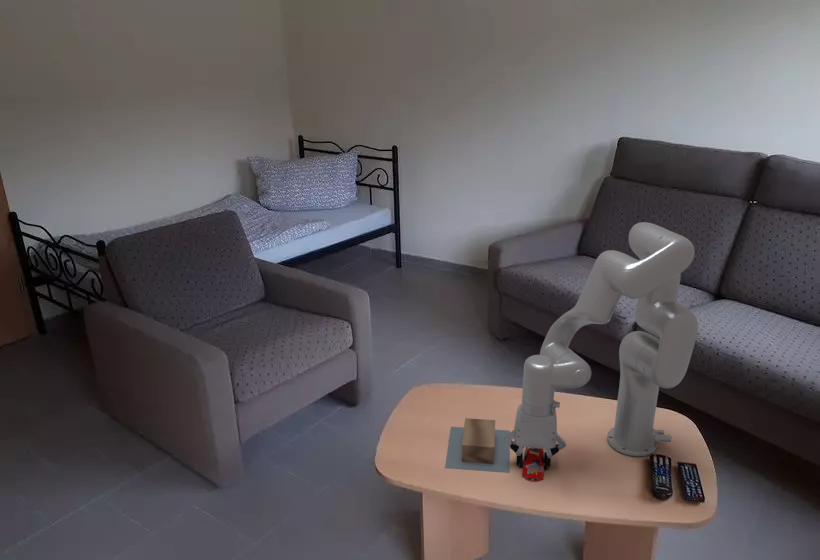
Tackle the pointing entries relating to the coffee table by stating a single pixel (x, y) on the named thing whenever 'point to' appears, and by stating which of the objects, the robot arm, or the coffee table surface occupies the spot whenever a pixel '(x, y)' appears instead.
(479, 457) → the walnut block
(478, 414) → the coffee table surface
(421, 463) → the coffee table surface
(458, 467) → the base plate
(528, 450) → the race car
